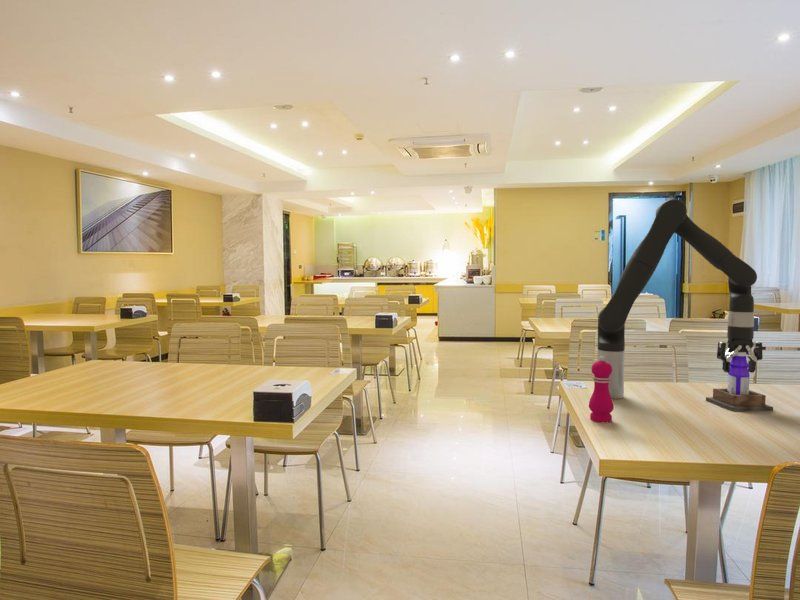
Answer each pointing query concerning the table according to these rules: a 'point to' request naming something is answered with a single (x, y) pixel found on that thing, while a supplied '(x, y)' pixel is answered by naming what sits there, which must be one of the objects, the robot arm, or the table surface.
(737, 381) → the bottle
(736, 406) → the open box
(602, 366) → the pepper mill
